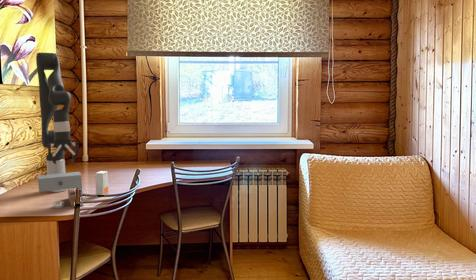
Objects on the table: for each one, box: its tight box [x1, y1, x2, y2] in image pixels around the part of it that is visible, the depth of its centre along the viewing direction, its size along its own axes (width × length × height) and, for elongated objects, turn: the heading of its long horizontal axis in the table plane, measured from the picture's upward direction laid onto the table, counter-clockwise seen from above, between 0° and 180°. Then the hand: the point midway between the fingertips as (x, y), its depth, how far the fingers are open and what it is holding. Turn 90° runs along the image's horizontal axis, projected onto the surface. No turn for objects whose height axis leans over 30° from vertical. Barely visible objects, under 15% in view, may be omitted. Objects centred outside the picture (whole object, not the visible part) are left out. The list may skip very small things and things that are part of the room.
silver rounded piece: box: [52, 201, 65, 209], centre depth 202 cm, size 5×5×2 cm
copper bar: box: [67, 188, 76, 208], centre depth 210 cm, size 18×2×6 cm, turn 25°
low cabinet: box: [37, 171, 84, 207], centre depth 201 cm, size 10×18×15 cm, turn 115°
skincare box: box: [94, 170, 109, 196], centre depth 224 cm, size 6×4×12 cm
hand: (64, 163), depth 214 cm, fingers open, 8 cm apart
